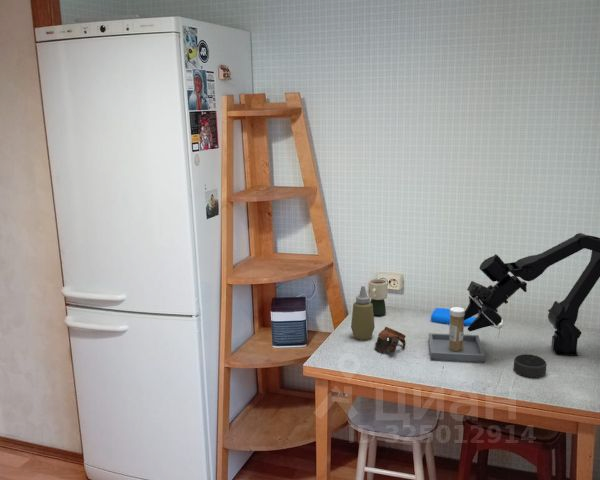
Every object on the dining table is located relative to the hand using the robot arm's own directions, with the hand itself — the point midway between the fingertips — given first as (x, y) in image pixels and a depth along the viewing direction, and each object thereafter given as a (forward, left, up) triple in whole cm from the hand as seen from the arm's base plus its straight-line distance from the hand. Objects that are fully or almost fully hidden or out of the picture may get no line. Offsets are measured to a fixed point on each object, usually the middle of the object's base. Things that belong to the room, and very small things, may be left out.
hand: (465, 324), depth 185 cm
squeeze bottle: (+33, -8, -9) cm, 35 cm away
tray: (+3, 0, -9) cm, 9 cm away
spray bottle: (-4, -27, -10) cm, 29 cm away
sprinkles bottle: (+3, 0, -8) cm, 9 cm away
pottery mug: (+23, +2, -9) cm, 25 cm away
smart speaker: (-17, +13, -9) cm, 24 cm away
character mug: (+29, -31, -9) cm, 43 cm away
